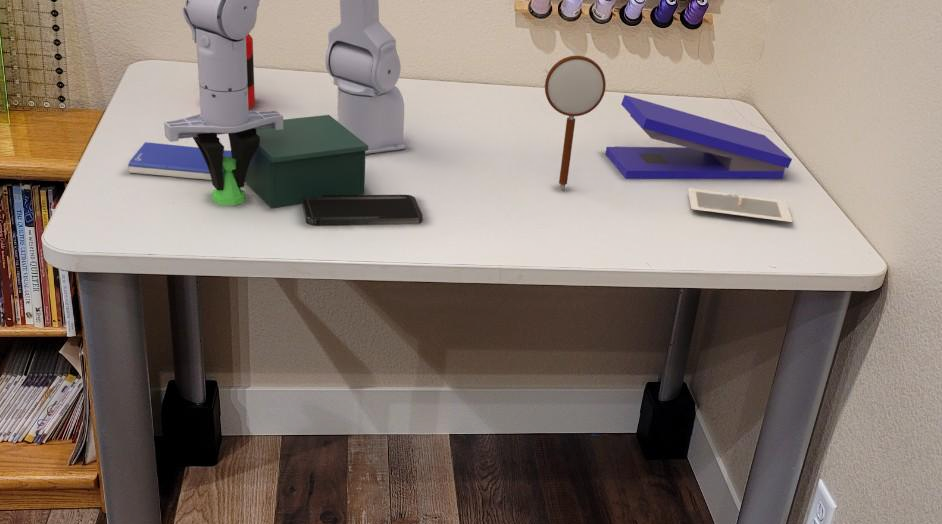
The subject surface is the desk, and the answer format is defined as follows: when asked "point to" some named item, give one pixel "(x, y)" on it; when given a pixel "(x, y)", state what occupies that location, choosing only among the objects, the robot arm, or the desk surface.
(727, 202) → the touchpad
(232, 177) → the game piece
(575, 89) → the magnifying glass
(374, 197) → the phone
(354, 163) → the bin
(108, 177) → the desk surface
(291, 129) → the bin lid
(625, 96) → the stapler
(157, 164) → the hard drive
